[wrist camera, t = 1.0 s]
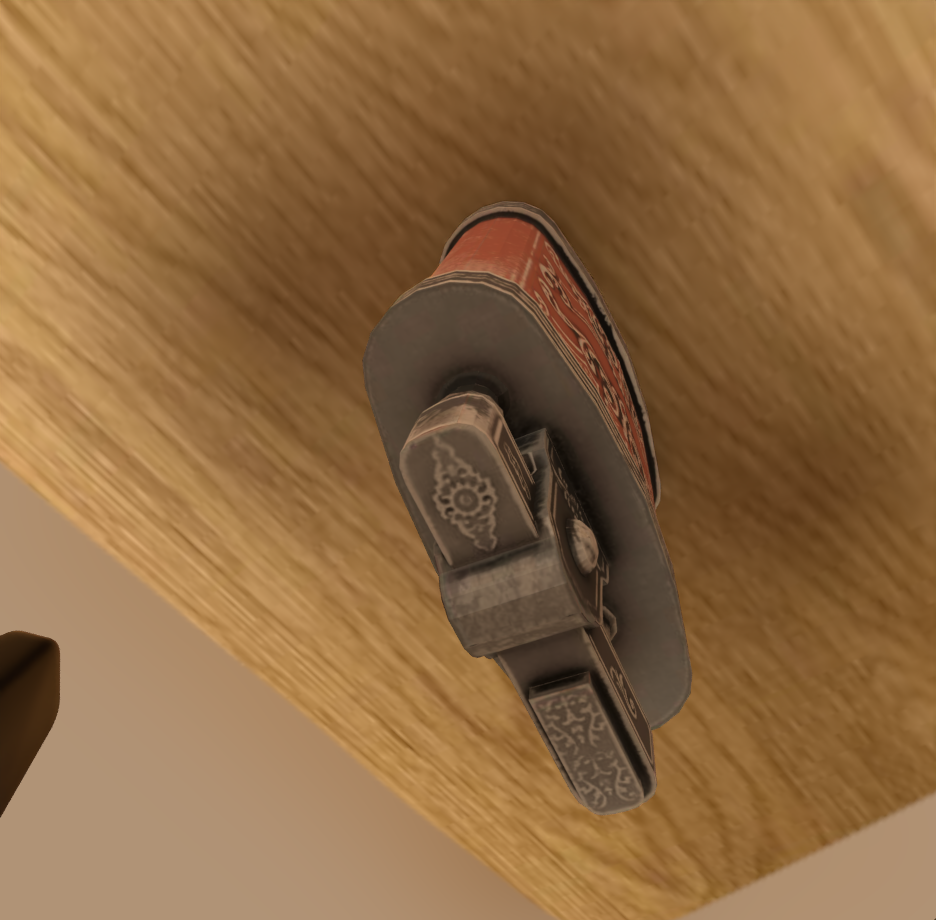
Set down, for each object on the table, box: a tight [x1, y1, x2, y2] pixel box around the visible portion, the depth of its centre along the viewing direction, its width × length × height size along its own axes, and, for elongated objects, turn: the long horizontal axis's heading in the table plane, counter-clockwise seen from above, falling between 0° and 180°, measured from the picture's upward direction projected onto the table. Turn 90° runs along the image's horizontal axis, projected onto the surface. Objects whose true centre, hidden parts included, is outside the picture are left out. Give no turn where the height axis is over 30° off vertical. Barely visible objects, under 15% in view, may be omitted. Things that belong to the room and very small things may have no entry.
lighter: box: [362, 201, 692, 815], centre depth 15 cm, size 8×3×10 cm, turn 25°
